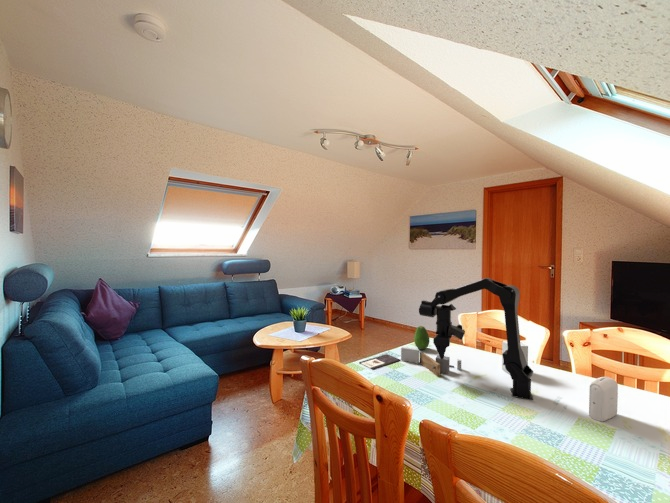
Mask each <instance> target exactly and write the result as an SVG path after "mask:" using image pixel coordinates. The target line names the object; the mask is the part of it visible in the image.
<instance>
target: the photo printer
mask: <svg viewBox="0 0 670 503" xmlns="http://www.w3.org/2000/svg"><path fill="white" fill-rule="evenodd" d="M618 386H619V385H618V382H617V381H616V380H615V379H614V378H611V377H609V376H601V377H597V378H595V379H594V380H593V381H592V382H591V383H590V385H589V389H588V390H589V391H588V392H589V395H588V396H589V398H588V400H589V401H588V402H589V403H588V404H589V405H588V416H589V417H590V418H591V419H593V420H595V421H598V422H605V421H608V420H609V419H612V418H613V417H615V416H617V414H618V398H619V396H618V394H619V393H618V392H619V387H618Z"/></svg>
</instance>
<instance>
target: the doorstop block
mask: <svg viewBox="0 0 670 503" xmlns="http://www.w3.org/2000/svg"><path fill="white" fill-rule="evenodd" d="M450 360H451V359H450V356H446V355H444V358H443V359H441V358H440V356H439V354H437V355H436V357H435V361H436V362H437V363H439V364H440V372H441V373H442V374H445V373H446V374H447V375H448V374H449V372H450V367H449V365H450ZM441 373H440V374H441ZM446 374H445V375H446Z"/></svg>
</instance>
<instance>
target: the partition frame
mask: <svg viewBox="0 0 670 503" xmlns="http://www.w3.org/2000/svg"><path fill="white" fill-rule="evenodd" d="M400 350H401V351H400V354H401V355H400V360H402V362H407V361H409V363H413V362H415V364H420V349H419V348H413V347H405V346H402V347H401V348H400ZM456 362H457V364H456V366H457V367H456V369H457V371H462V359H457V361H456ZM449 368H455V365H451V364H449Z"/></svg>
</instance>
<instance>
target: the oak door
mask: <svg viewBox="0 0 670 503" xmlns="http://www.w3.org/2000/svg"><path fill="white" fill-rule="evenodd" d="M419 364H420V365H422V367H423V366H424V368H426V369H427V370H428V369H429V370H428V371H430V372H431V373H432V374H433V375H434V376H436V377H441V373H440V364H439V363H437V362H436V359H434V358H432V357H430V356H429V355H427V354H426V353H425V351H423V350H419Z"/></svg>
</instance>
